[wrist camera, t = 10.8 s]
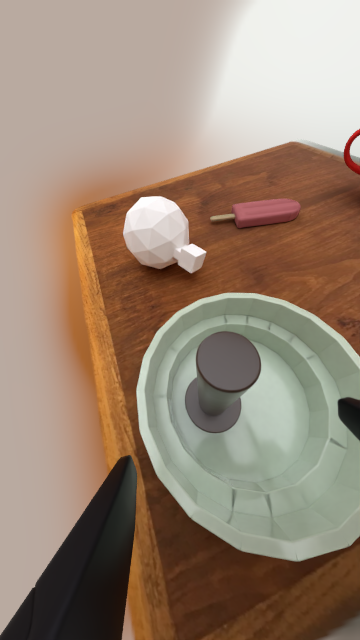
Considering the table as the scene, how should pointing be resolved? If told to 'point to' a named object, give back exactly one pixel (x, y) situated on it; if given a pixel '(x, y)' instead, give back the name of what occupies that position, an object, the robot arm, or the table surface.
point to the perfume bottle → (160, 235)
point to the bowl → (259, 430)
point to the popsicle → (262, 212)
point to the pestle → (221, 380)
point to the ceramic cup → (347, 157)
